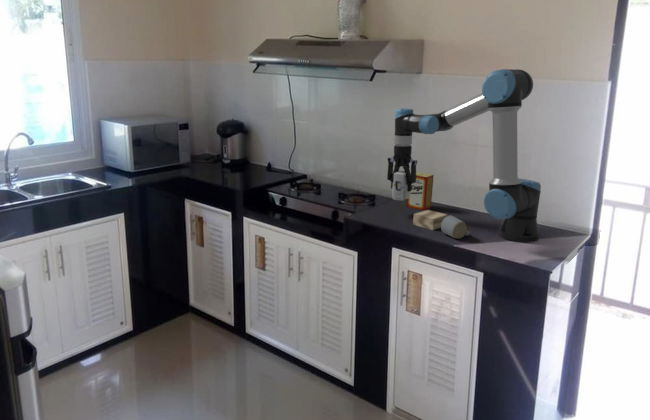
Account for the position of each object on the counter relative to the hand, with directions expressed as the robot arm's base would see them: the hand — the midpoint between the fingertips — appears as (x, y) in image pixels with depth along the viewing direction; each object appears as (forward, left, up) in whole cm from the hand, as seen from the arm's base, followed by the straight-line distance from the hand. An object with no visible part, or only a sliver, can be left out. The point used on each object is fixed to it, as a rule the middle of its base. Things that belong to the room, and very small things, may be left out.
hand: (400, 197), depth 244 cm
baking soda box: (0, -17, -8) cm, 19 cm away
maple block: (-17, +5, -8) cm, 20 cm away
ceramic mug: (-32, +11, -8) cm, 35 cm away
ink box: (0, 0, -1) cm, 1 cm away
